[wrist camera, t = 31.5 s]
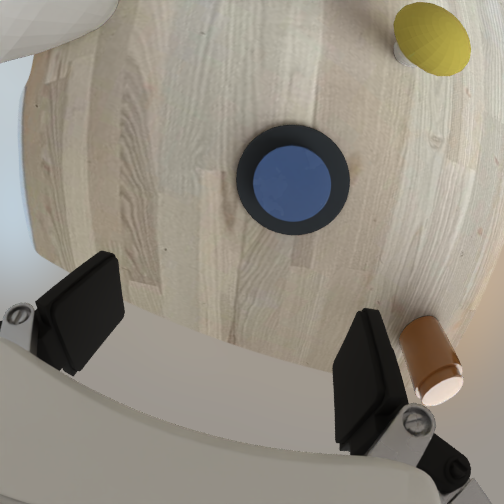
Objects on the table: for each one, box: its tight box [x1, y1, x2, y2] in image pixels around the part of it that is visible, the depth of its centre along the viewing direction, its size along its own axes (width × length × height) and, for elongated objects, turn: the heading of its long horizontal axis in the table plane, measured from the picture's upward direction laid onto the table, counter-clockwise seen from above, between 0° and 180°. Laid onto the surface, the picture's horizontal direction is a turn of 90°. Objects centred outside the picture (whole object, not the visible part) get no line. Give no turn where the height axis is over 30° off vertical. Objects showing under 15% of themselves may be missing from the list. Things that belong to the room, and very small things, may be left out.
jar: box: [399, 316, 464, 406], centre depth 26 cm, size 7×7×11 cm
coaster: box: [236, 125, 350, 235], centre depth 25 cm, size 11×11×1 cm
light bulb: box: [394, 2, 471, 76], centre depth 13 cm, size 7×7×10 cm
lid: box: [253, 144, 331, 222], centre depth 24 cm, size 7×7×2 cm
